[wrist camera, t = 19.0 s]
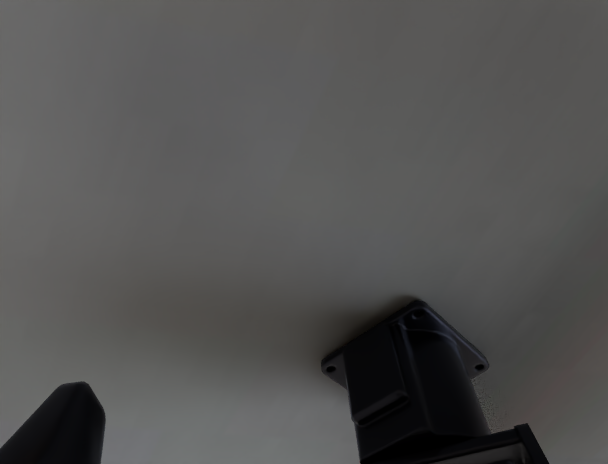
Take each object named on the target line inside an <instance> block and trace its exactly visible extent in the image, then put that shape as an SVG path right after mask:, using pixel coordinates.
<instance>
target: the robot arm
mask: <svg viewBox="0 0 608 464" xmlns="http://www.w3.org/2000/svg"><path fill="white" fill-rule="evenodd" d="M416 311H419V312H416ZM321 368H322V372H323V373H324V374H325V375H327V376H328V377H330V378H331V379H332V380H334V381H335V382H337V383H338V384H340V385H341V386H343V387H344V388H346V389H347V390H348V397H349V405H350V412H351V419H352V421H353V422H354V424H355V431H356V438H357V445H358V451H359V458H360V464H549V462H548V460H547V459H546V457H545V455H544V453H543V451H542V449H541V447H540V446H539V444H538V442H537V440H536V438H535V436H534V434H533V433H532V431H531V429H530V427H529V425H528V423H526V424H521V425H517V426H514V429H510V430H506V431H502V432H498V433H493V434H491V432H490V429H489V427H488V424H487V422H486V419H485V416H484V414H483V411H482V408H481V406H480V403H479V401H478V398H477V395H476V393H475V390H474V387H473V385H472V382H471V379H472V378H474V377H475V376H477V375H479V374H481V373H483V372H485V371H486V370H487V369H488V368H489V364H488V361H487V359H486V357H485V356H484V355H483V354H482V353H480V352H479V351H478V350H477V349H476V348H475V347H474V346H473V345H472V344H471V343H469V342H468V341H467V340H466V339H465V338H464V337H463V336H462V335H461V334H459V333H458V332H457V331H456V330H455V329H454V328H453V327H452V326H451V325H450V324H448V323H447V322H446V321H445V320H444V319H443V318H442V317H441V316H440V315H438V314H437V313H436V312H435V311H434V310H433V309H432V308H431V307H430V306H429V305H427V304H426V303H425V302H423V301H414V302H412V303H410V304H409V305H407V306H406V307H404V308H402V309H401V310H399V311H398V312H396V313H395V314H393V315H392V316H390V317H388V318H387V319H385V320H384V321H382V322H381V323H379V324H377V325H376V326H374V327H373V328H371V329H370V330H368V331H367V332H365V333H363V334H362V335H360V336H359V337H357V338H356V339H354V340H352V341H351V342H349V343H348V344H346V345H345V346H343V347H341V348H340V349H338V350H337V351H335V352H334V353H332V354H331V355H329V356H327V357H326V358H324V359H323V360H322V362H321ZM105 422H106V419H105V412H104V409H103V407H102V405H101V404H100V402H99V400H98V399H97V397H96V395H95V394H94V392H93V391H92V389H91V387H90V386H89V384H87V383H86V382H74V383H66V384H63V385H60V386H59V387H58V388H57V389H56V390H55V391H54V392H53V393H52V394H51V395H50V396H49V397H48V398H47V399H46V400H45V401H44V402H43V404H42V405H41V406H40V407H39V408H38V409H37V410H36V411H35V412H34V413H33V414H32V415H31V416H30V417H29V419H28V420H27V421H26V422H25V423H24V424H23V425H22V426H21V427H20V428H19V429H18V430H17V431H16V432H15V434H14V435H13V436H12V437H11V438H10V439H9V440H8V441H7V442H6V443H5V444H4V445H3V446H2V447H1V448H0V464H101V456H102V447H103V439H104V431H105Z"/></svg>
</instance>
